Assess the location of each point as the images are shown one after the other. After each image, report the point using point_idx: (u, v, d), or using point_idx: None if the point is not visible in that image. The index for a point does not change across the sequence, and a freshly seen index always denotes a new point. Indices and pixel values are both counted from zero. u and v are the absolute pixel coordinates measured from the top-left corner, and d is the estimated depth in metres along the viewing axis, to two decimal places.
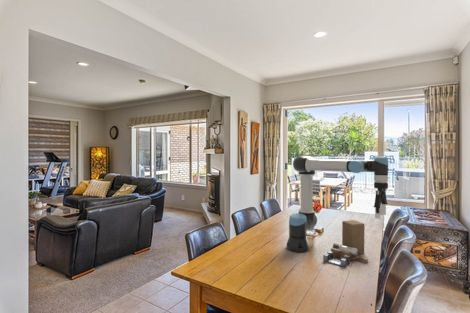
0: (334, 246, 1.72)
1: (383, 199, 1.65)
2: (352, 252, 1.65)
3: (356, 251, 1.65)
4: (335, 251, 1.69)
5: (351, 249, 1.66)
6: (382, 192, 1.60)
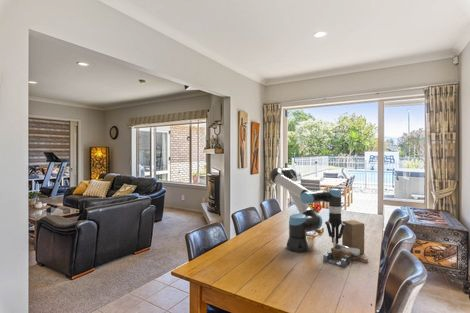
0: (336, 247, 1.71)
1: None
2: (354, 253, 1.64)
3: (358, 251, 1.64)
4: (335, 251, 1.69)
5: (353, 250, 1.65)
6: (331, 222, 1.74)
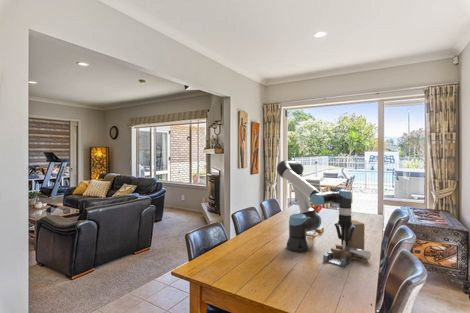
0: (346, 249, 1.67)
1: None
2: (365, 255, 1.60)
3: (369, 254, 1.60)
4: (335, 251, 1.69)
5: (364, 252, 1.61)
6: (341, 224, 1.70)
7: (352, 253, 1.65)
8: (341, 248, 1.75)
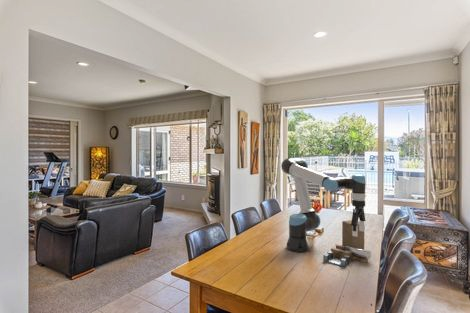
0: (347, 248, 1.68)
1: (361, 216, 1.68)
2: (366, 254, 1.60)
3: (369, 253, 1.61)
4: (335, 251, 1.69)
5: (365, 251, 1.62)
6: (359, 210, 1.62)
7: (353, 251, 1.65)
8: (341, 248, 1.75)
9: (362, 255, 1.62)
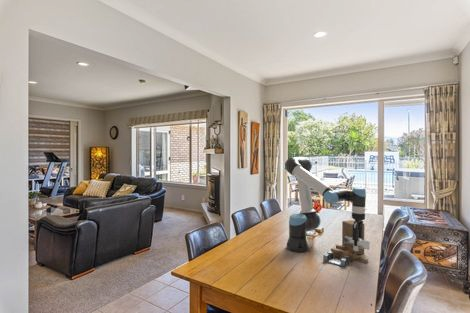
0: (345, 238, 1.68)
1: (359, 231, 1.66)
2: (364, 245, 1.60)
3: (368, 244, 1.61)
4: (335, 251, 1.69)
5: (363, 242, 1.61)
6: (359, 223, 1.63)
7: (351, 242, 1.65)
8: (341, 248, 1.75)
9: (361, 246, 1.61)
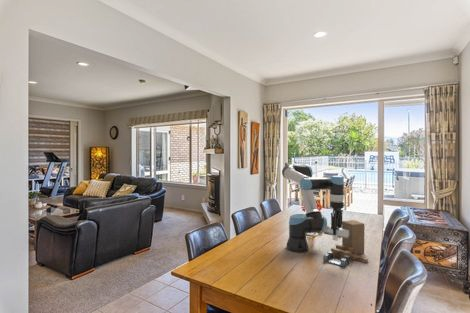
0: (325, 228, 1.64)
1: (338, 220, 1.63)
2: (343, 233, 1.57)
3: (347, 232, 1.57)
4: (335, 251, 1.69)
5: (342, 230, 1.58)
6: (337, 212, 1.59)
7: (331, 232, 1.61)
8: (341, 248, 1.75)
9: (340, 235, 1.58)
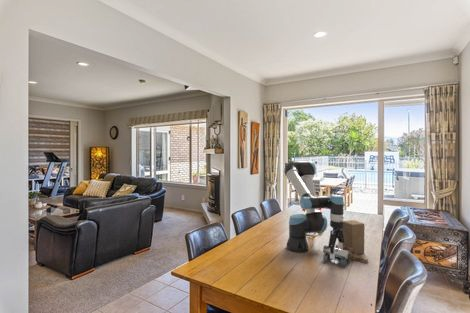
0: (325, 248, 1.64)
1: (339, 237, 1.64)
2: (343, 254, 1.57)
3: (347, 253, 1.57)
4: None
5: (342, 251, 1.58)
6: (337, 231, 1.59)
7: None
8: None
9: (340, 255, 1.58)
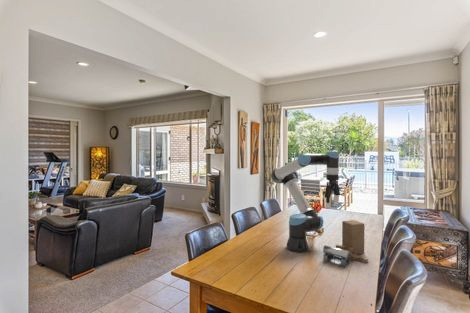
0: (325, 248, 1.64)
1: (335, 190, 1.77)
2: (343, 254, 1.57)
3: (347, 253, 1.57)
4: None
5: (342, 251, 1.58)
6: (333, 183, 1.72)
7: (330, 252, 1.62)
8: (341, 248, 1.75)
9: (340, 255, 1.58)
